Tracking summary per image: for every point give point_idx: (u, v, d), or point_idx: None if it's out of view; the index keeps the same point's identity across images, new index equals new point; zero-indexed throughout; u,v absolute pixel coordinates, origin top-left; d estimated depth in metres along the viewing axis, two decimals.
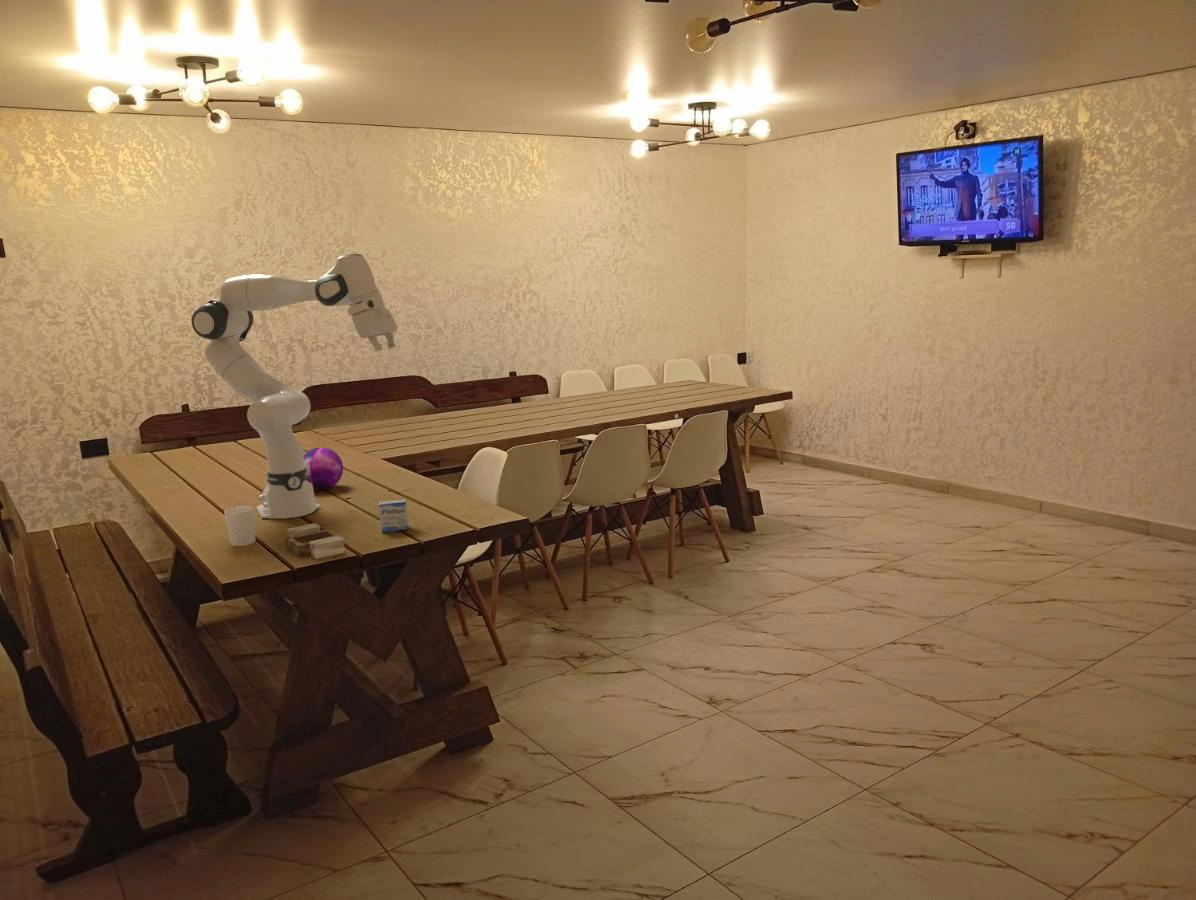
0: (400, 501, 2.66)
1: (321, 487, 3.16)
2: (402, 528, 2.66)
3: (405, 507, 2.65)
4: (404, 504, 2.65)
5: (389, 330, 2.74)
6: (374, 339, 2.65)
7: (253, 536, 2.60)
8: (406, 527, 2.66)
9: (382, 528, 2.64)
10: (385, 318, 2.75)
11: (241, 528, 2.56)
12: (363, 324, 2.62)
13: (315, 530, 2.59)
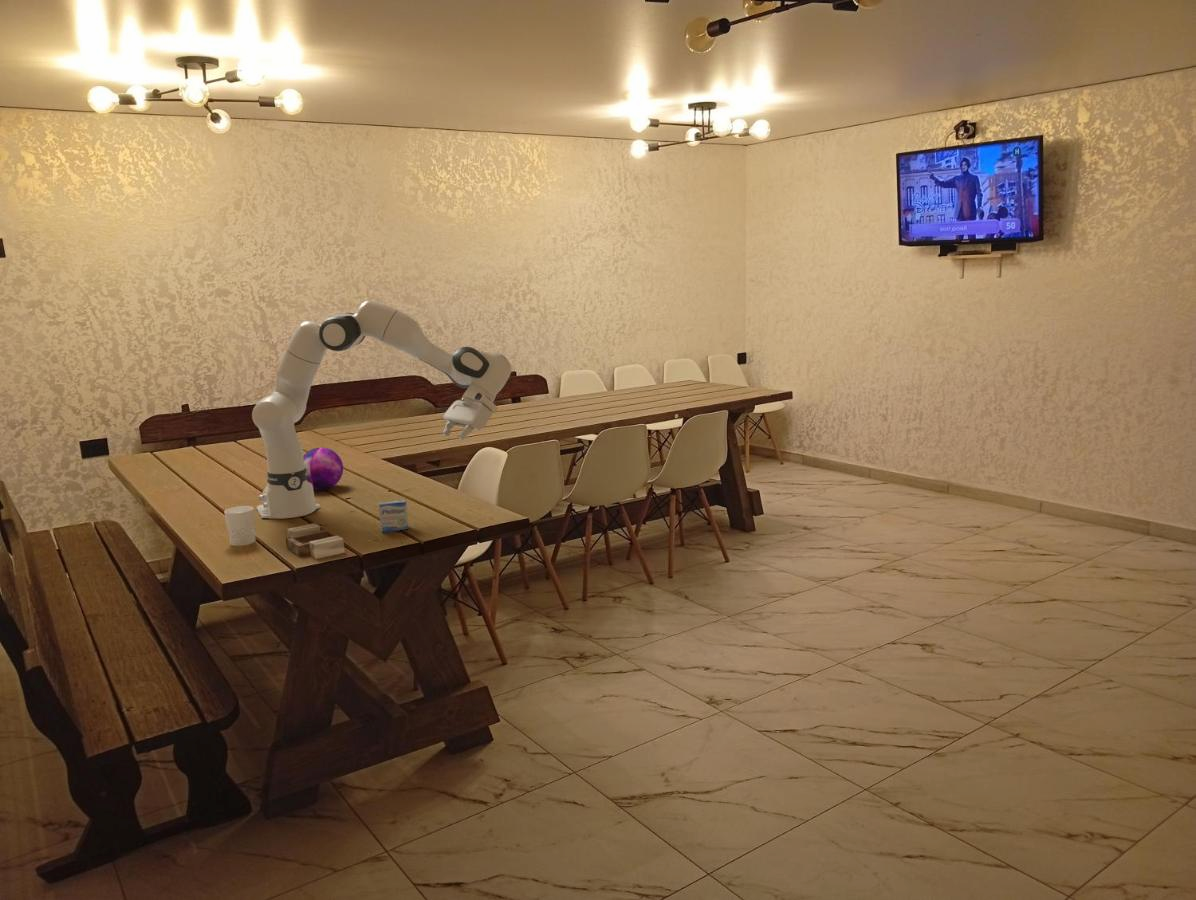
0: (400, 501, 2.66)
1: (321, 487, 3.16)
2: (402, 528, 2.66)
3: (405, 507, 2.65)
4: (404, 504, 2.65)
5: None
6: (470, 430, 2.71)
7: (253, 536, 2.60)
8: (406, 527, 2.66)
9: (382, 528, 2.64)
10: None
11: (241, 528, 2.56)
12: (484, 418, 2.70)
13: (315, 530, 2.59)
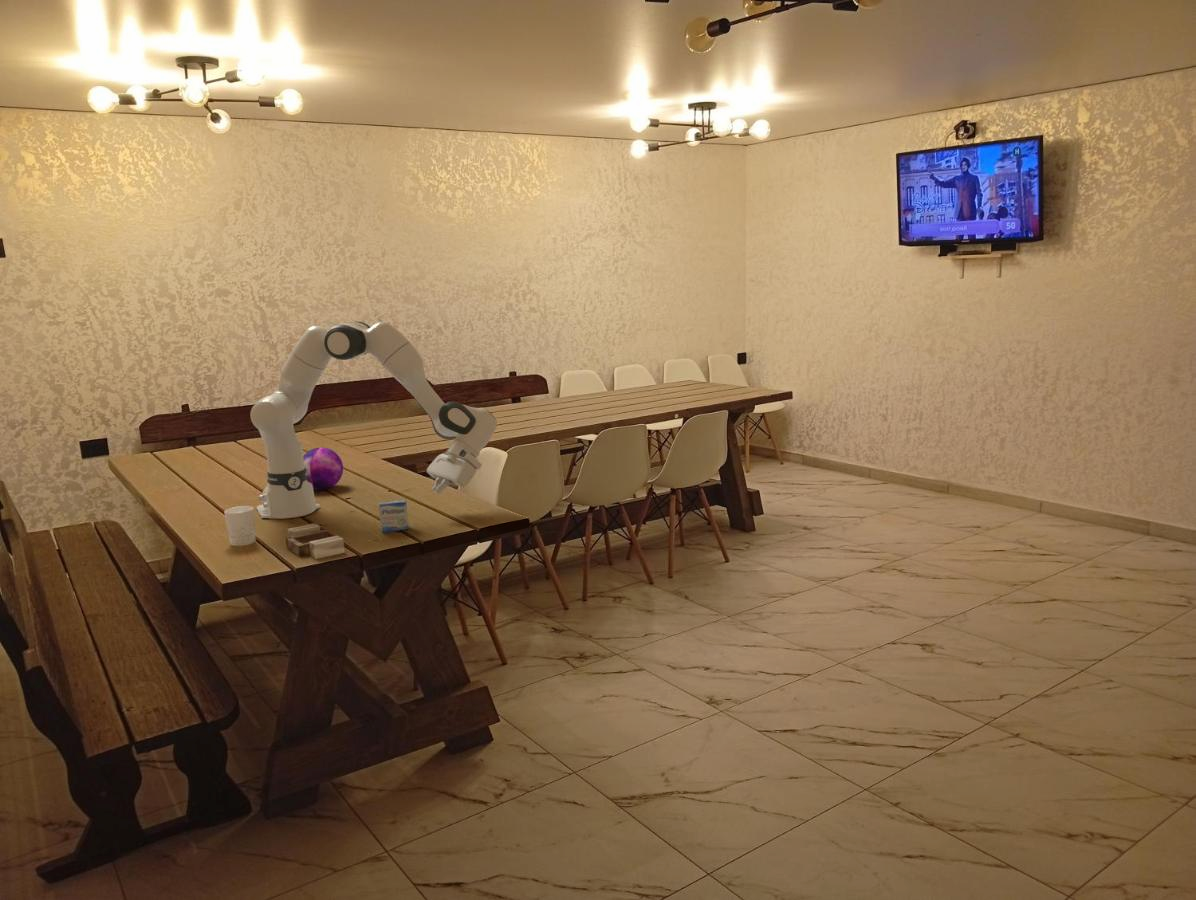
0: (400, 501, 2.66)
1: (321, 487, 3.16)
2: (402, 528, 2.66)
3: (405, 507, 2.65)
4: (404, 504, 2.65)
5: None
6: (447, 485, 2.74)
7: (253, 536, 2.60)
8: (406, 527, 2.66)
9: (382, 528, 2.64)
10: None
11: (241, 528, 2.56)
12: (468, 476, 2.70)
13: (315, 530, 2.59)
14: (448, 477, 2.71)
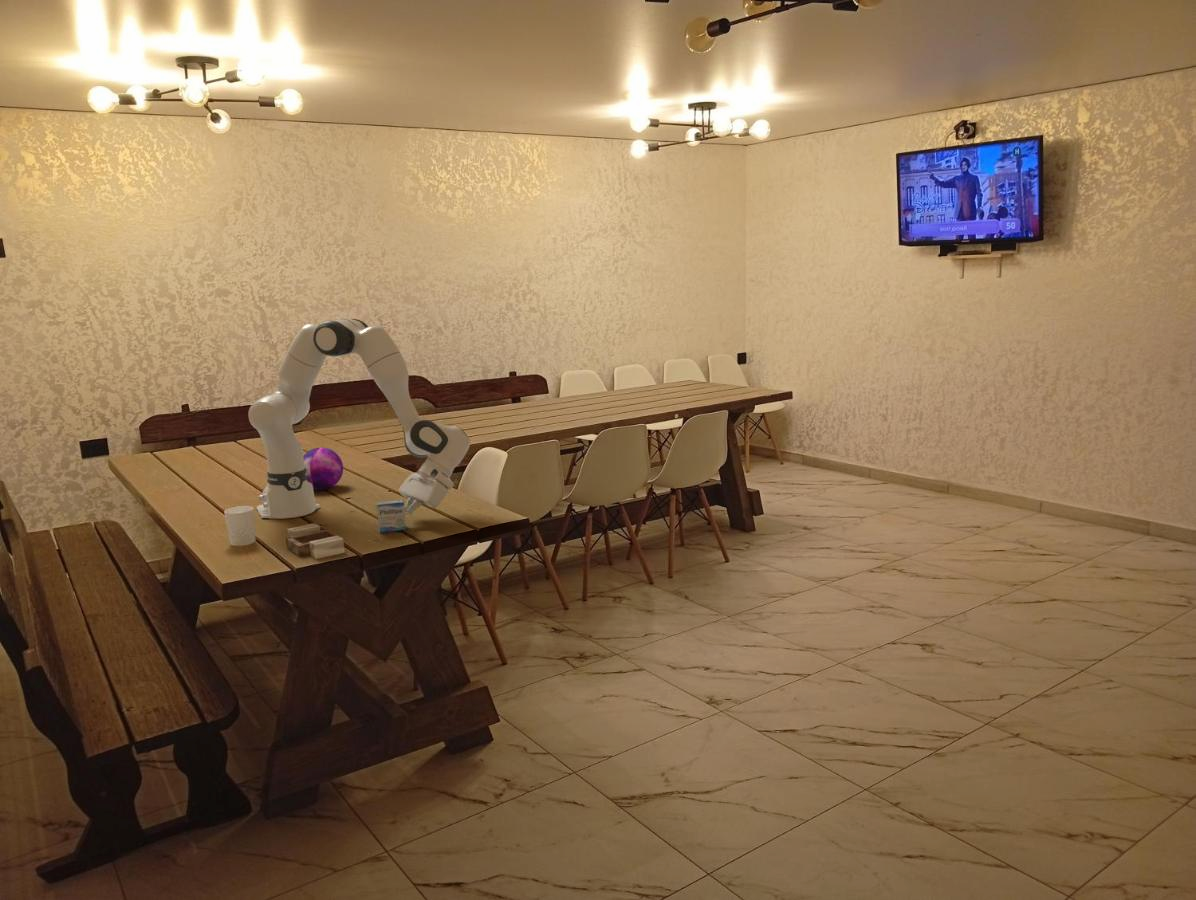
0: (398, 501, 2.65)
1: (321, 487, 3.16)
2: (400, 528, 2.66)
3: (403, 507, 2.65)
4: (402, 504, 2.64)
5: None
6: (418, 505, 2.69)
7: (253, 536, 2.60)
8: (404, 527, 2.66)
9: (380, 528, 2.64)
10: None
11: (241, 528, 2.56)
12: (439, 496, 2.64)
13: (315, 530, 2.59)
14: (419, 497, 2.66)
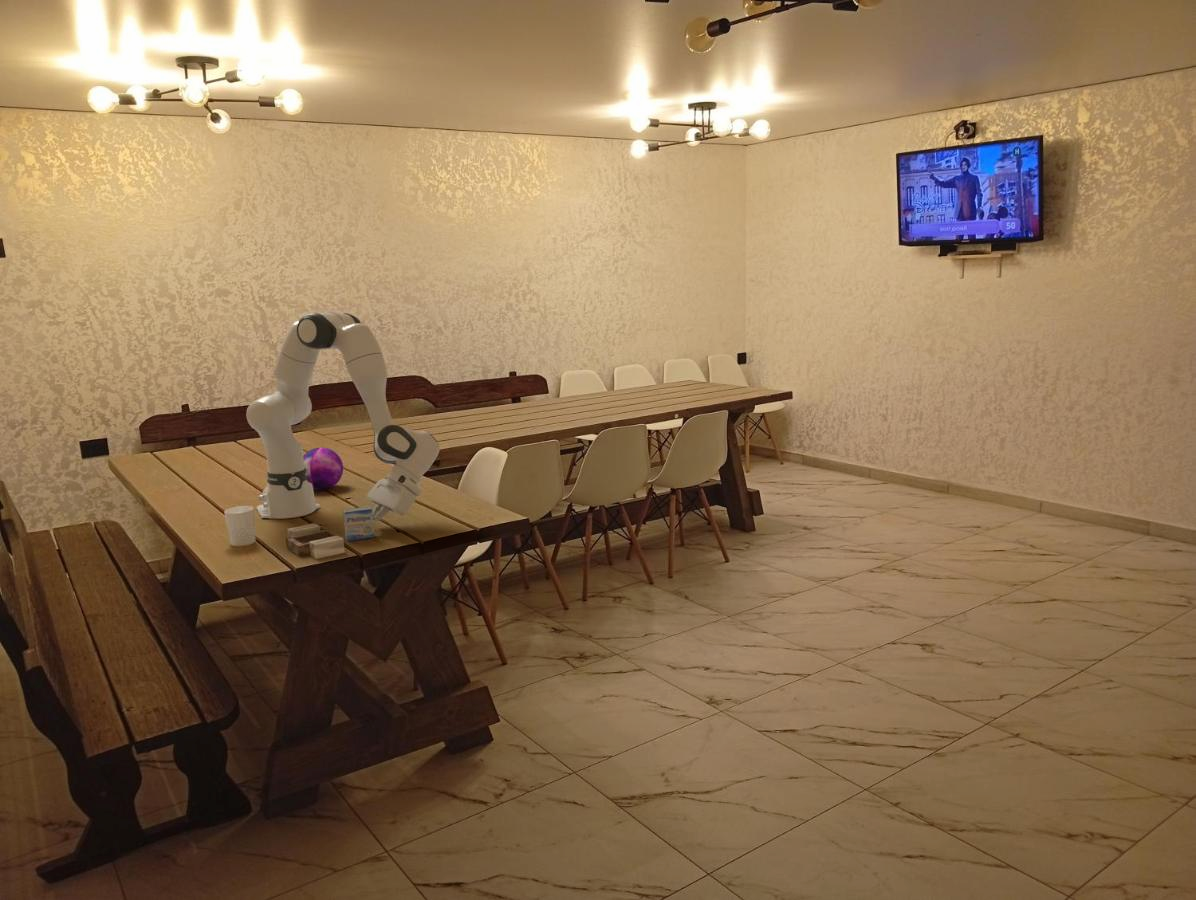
0: (365, 508, 2.59)
1: (321, 487, 3.16)
2: (368, 536, 2.59)
3: (371, 514, 2.58)
4: (370, 511, 2.58)
5: None
6: (386, 512, 2.63)
7: (253, 536, 2.60)
8: (372, 535, 2.60)
9: (347, 536, 2.57)
10: None
11: (241, 528, 2.56)
12: (407, 503, 2.58)
13: (315, 530, 2.59)
14: (386, 504, 2.60)
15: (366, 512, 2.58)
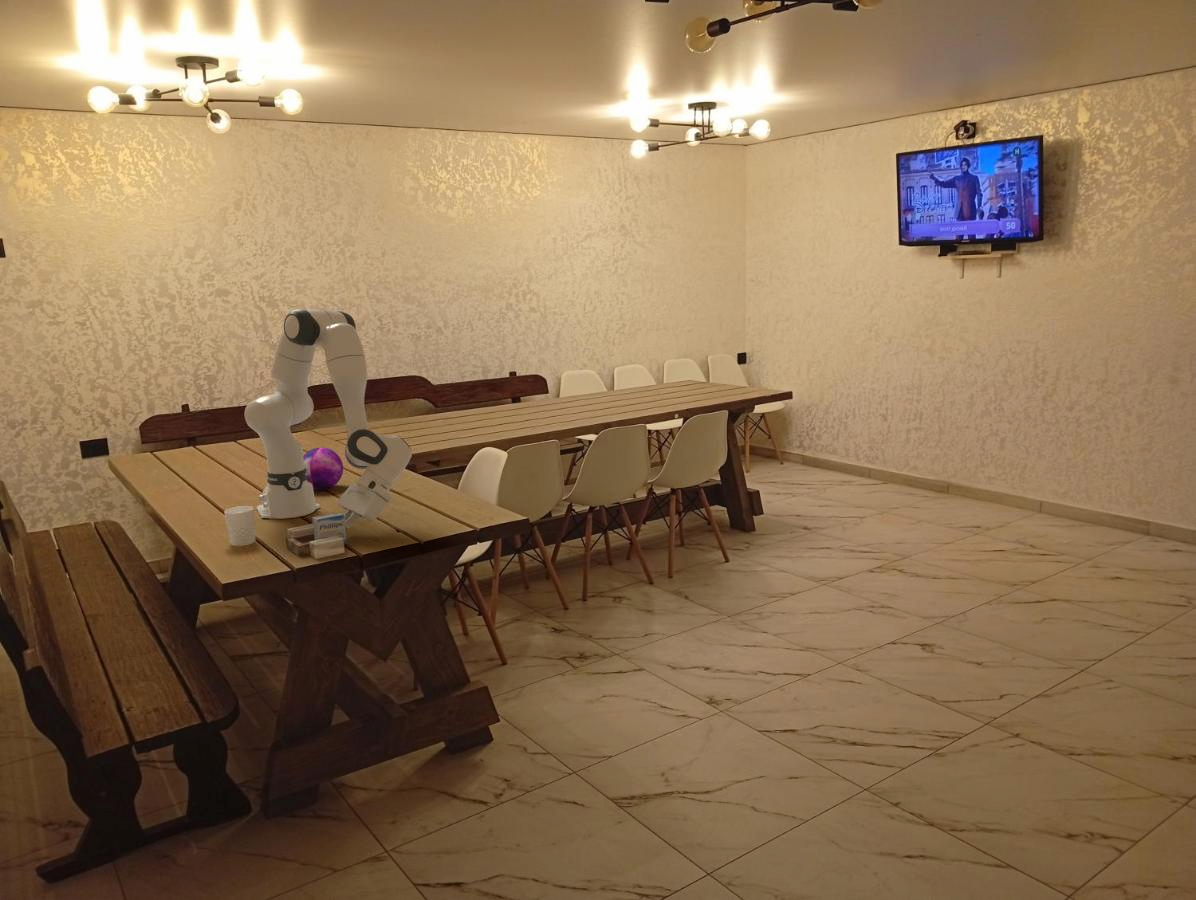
0: (337, 514, 2.54)
1: (321, 487, 3.16)
2: None
3: (343, 520, 2.54)
4: (342, 517, 2.53)
5: None
6: (356, 519, 2.57)
7: (253, 536, 2.60)
8: (345, 541, 2.55)
9: None
10: None
11: (241, 528, 2.56)
12: (377, 509, 2.53)
13: None
14: (356, 510, 2.54)
15: (338, 518, 2.53)
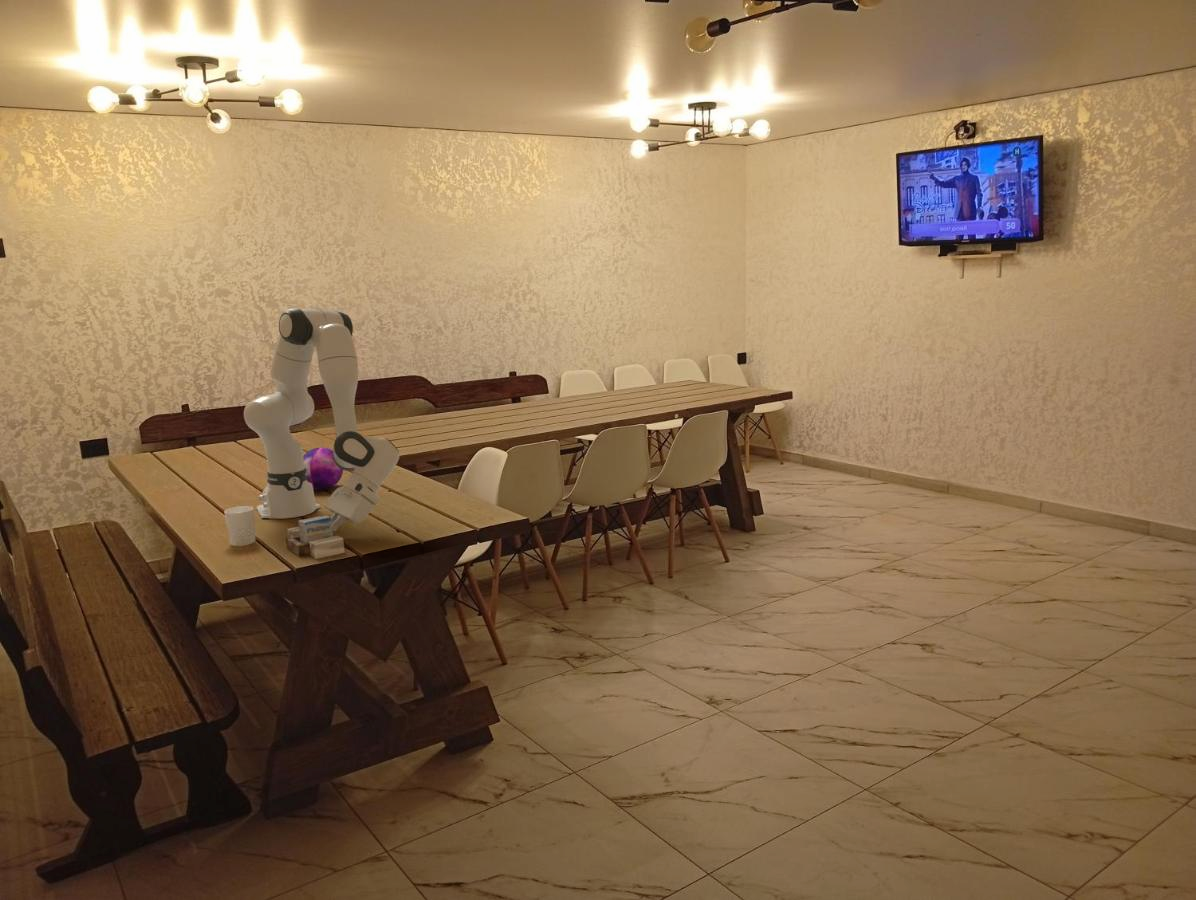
0: (323, 517, 2.51)
1: (321, 487, 3.16)
2: None
3: (330, 523, 2.51)
4: (329, 520, 2.51)
5: None
6: (342, 521, 2.55)
7: (253, 536, 2.60)
8: None
9: None
10: None
11: (241, 528, 2.56)
12: (363, 512, 2.50)
13: None
14: (343, 513, 2.52)
15: (325, 521, 2.50)
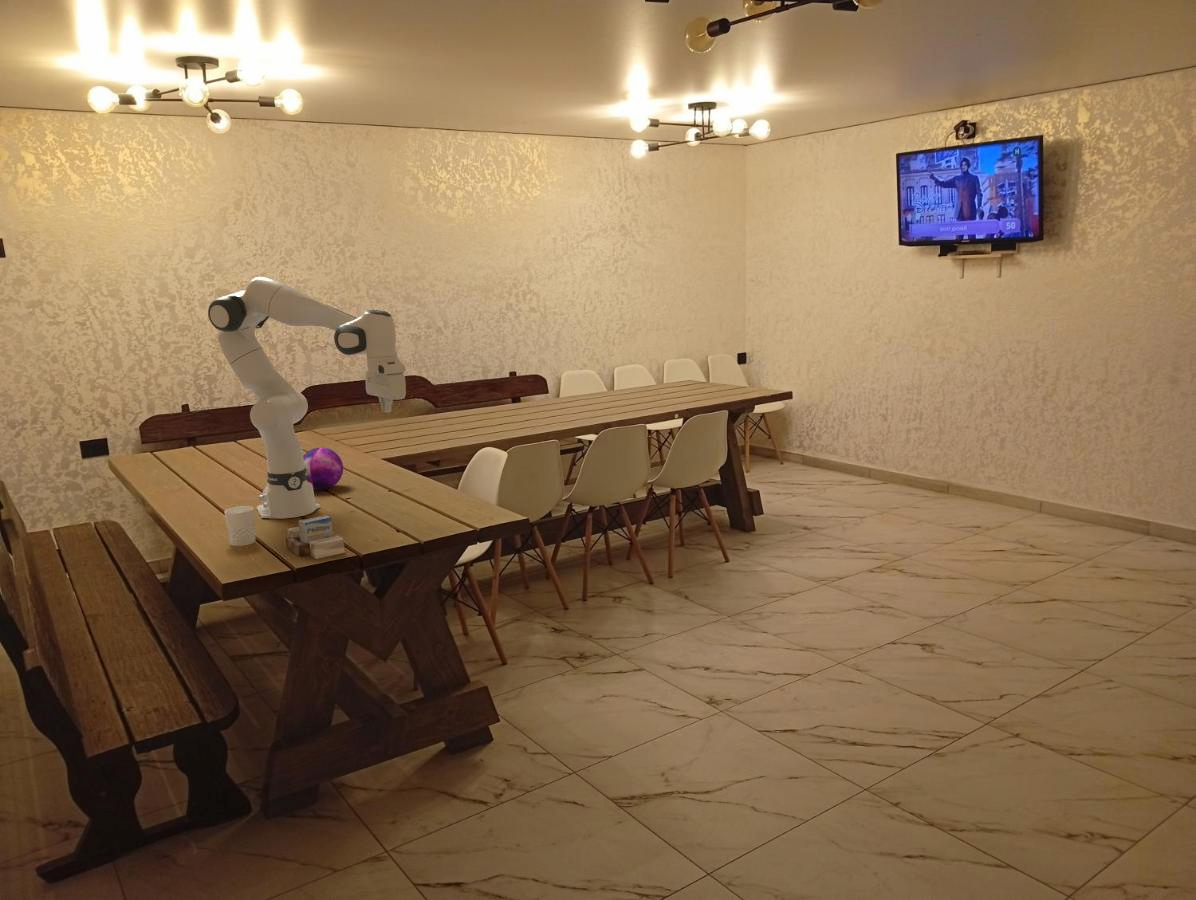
0: (324, 517, 2.51)
1: (321, 487, 3.16)
2: None
3: (330, 523, 2.51)
4: (329, 520, 2.51)
5: None
6: (391, 401, 2.66)
7: (253, 536, 2.60)
8: None
9: None
10: None
11: (241, 528, 2.56)
12: (401, 386, 2.60)
13: None
14: (386, 396, 2.63)
15: (325, 521, 2.50)
